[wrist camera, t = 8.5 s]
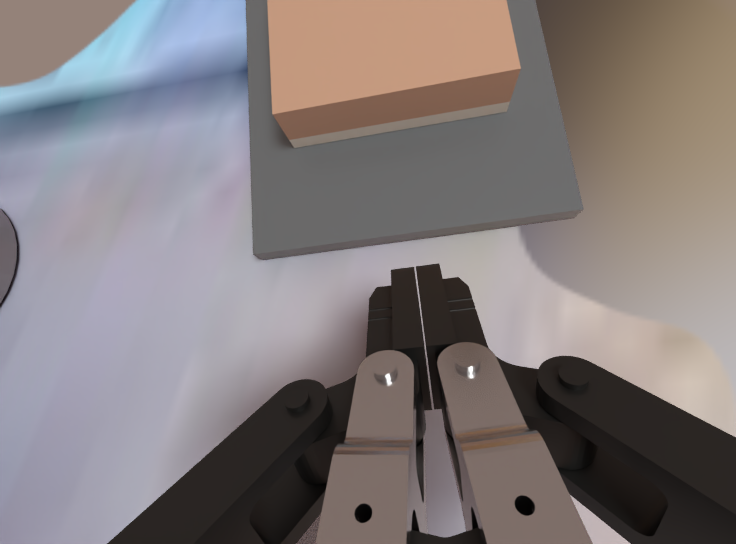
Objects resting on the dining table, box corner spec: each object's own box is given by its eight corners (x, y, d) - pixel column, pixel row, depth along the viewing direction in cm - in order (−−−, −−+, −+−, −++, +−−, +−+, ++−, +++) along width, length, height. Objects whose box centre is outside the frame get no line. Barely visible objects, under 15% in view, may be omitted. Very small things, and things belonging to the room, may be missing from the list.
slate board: (263, 259, 21) (253, 254, 20) (251, -59, 25) (243, -78, 24) (573, 218, 19) (583, 209, 17) (498, -119, 23) (501, -144, 22)
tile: (272, 114, 17) (265, -42, 19) (294, 148, 20) (286, 10, 22) (520, 68, 16) (486, -95, 18) (506, 112, 19) (478, -32, 21)
